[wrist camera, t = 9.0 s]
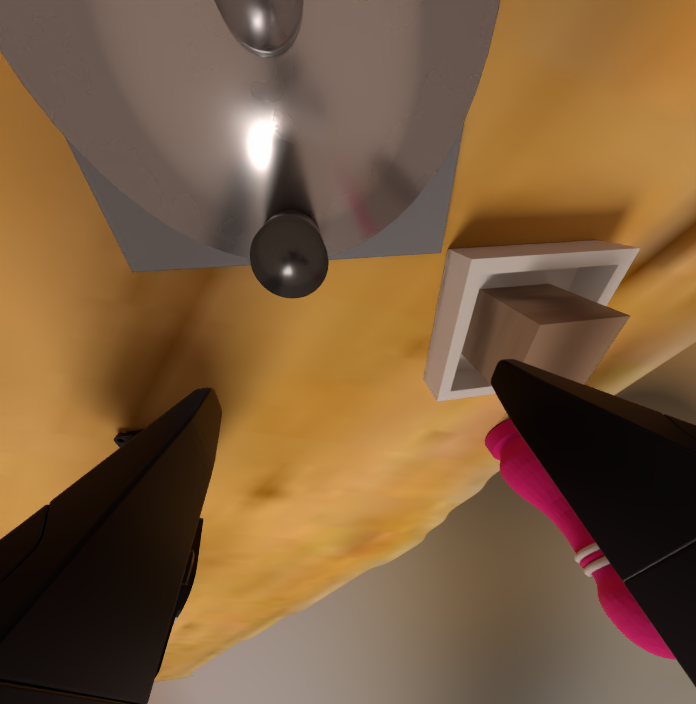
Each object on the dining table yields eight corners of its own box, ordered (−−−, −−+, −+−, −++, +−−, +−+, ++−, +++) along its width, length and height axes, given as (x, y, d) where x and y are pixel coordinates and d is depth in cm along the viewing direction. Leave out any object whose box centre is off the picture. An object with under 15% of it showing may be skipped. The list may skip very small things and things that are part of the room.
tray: (423, 379, 24) (437, 401, 22) (448, 248, 18) (471, 259, 15) (534, 365, 26) (559, 385, 23) (596, 240, 19) (640, 248, 17)
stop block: (461, 353, 23) (505, 400, 18) (479, 289, 19) (540, 325, 14) (521, 346, 23) (580, 390, 18) (548, 283, 20) (630, 316, 15)
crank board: (141, 267, 15) (129, 273, 14) (-336, -738, 5) (-517, -1001, 4) (434, 249, 18) (443, 253, 17) (549, -471, 7) (594, -589, 6)
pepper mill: (473, 434, 31) (667, 718, 14) (529, 404, 29) (820, 685, 13) (489, 458, 35) (659, 704, 18) (540, 432, 33) (776, 677, 17)
